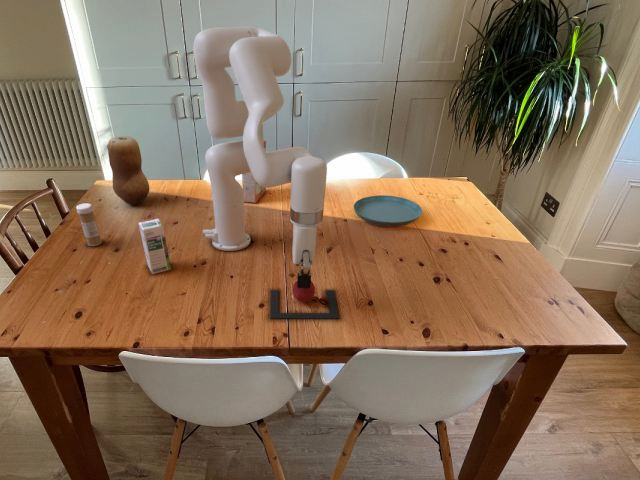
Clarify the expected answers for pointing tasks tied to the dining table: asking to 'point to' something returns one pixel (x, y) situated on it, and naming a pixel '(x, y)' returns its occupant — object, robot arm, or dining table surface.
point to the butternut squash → (127, 170)
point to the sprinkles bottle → (89, 224)
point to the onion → (303, 292)
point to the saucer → (387, 210)
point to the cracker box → (252, 186)
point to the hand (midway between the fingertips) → (302, 275)
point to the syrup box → (155, 245)
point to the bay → (331, 315)
